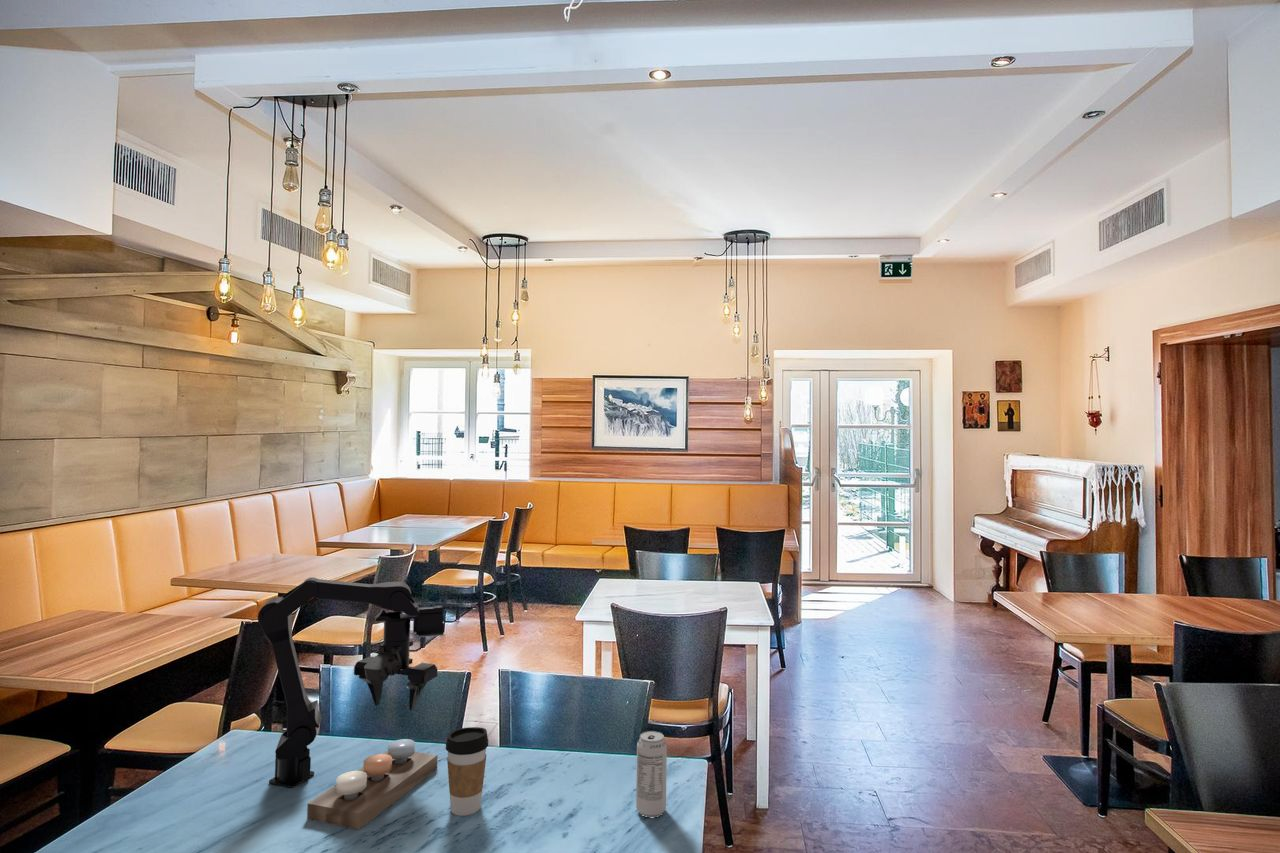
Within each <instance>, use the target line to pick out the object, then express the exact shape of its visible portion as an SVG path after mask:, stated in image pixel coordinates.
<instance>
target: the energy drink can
mask: <svg viewBox="0 0 1280 853" xmlns="http://www.w3.org/2000/svg"><path fill="white" fill-rule="evenodd" d="M667 746H668V744H667V742H666V740H665V735H664V734H663V733H662V732H660V731H654V730H647V731H644V732H642V733H640V735H639V739H638V741H637V744H636V788H635V789H636V791H635V792H636V793H635V796H636V797H635V798H636V800H635V808H636V810H637V811H638V814H639V813H640V814H641V815H644V816H647V817H657V816H660V815H661V814H662V813H663V814H664V813H665V811H666V810H667V768H668V766H667V760H668V759H667V757H668V756H667V755H668V753H667V752H668V751H667V750H668V747H667ZM640 814H639V815H640ZM663 814H662V815H663ZM641 815H640V816H641ZM660 817H661V816H660Z"/></svg>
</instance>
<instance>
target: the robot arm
mask: <svg viewBox="0 0 1280 853" xmlns="http://www.w3.org/2000/svg"><path fill="white" fill-rule="evenodd" d="M312 599H321V600H332V601H333V600H334V601H342V602H343V601H344V602H345V601H346V602H355V603H364V604H369V605H373V606H376V607H379V608H381V610H380V612H378V613H377V614H376V615H375V622H383V641H382V644H380V645H379V647H378V653H377V654H376V655H375V656H367V657H365V658H363V659H360V660H358V661H357V662H356V663H355V665H354V666H353V675H354V676H358V679H359V680H362V681H363V682H365V683H366V684H367V687H368V689H369V691H370V694H371V696H372V700H373V702H374V705H375V706H376V707H377V706H379V705H380V703H381V700H382V694H383V687H384V682H385V681H386V680H387V679H388V678H389V676H392V677H394V676H395V675H402V676H407V680H408V681H409V682H407V683H406V685H407V687H408V688H409V697H408V700H409V702H408V704H409V705H408V706H409V711H412V712H413V710H414V709H415V707H416V705H417V703H418V701H419V699H420V696H421V695H422V692H423V690H424V689H425V687H426V686H427V683H428V682H430V681H432V680H433V679H434V678H437V677H438V670H439V669H438V667H437V665H436V664H435V663H426V662H421V663H419V664H417V665H415V666H410V665H411V664H413V658H410V647H412V646H414V640H410V639H411V620H412V633H413V634H415V635H416V636H417V638H428V637H441V636H443V637H444V632H445V631H444V630H445V622H444V612H443V611H444V607H443V605H435V606H425V607H424V606H423V607H419V605H418V603H417V602H416V601H415V599H414V598H413V597H412V591H411V587H410V586H409V585H408V584H407V583H406V582H404V581H386V582H379V583H363V582H362V583H360V582H349V581H341V580H333V579H332V580H331V579H320V578H316V577H308V578H306V579H304V581H303V582H302V583H301V584H298V585H297V586H296V587H294V588H292V589H291V590H289V591H288V592H286V593H285V594H283V595H282V596H274V597H272V598H270V599H268V600H267V601H266V602H265V603H264V605H263V606H262V607H260V608H261V609H259V612H258V613H257V622H258V624H259V626H260V629H261V630H262V632H263V635H264V636H265V638H266V639H267V640H268V641H269V643H270V645H271V648H272V651H273V654H274V655H273V656H274V659H275V663H276V668H277V672H278V675H279V680H280V684H281V688H282V692H283V696H284V700H285V704H286V730H285V731H284V732H283V733H282V734H281V735H280V737H279V740H278V743H277V746H276V748H275V751H274V753H275V761H274V762H275V763H274V764H275V765H274V777H273V778H271V779H269V781H268V784H271V785H277V786H282V787H288V788H294V787H296V786H298V785H299V784H301V783H303V782H304V781H306V780H307V779H309V778H311V777H313V776H314V775H315V771H312V770H311V763H312V757H311V756H310V754H311V748H308V746H310V745H311V744H312V743H313V742H314V741H315V739H316V738H317V734H318V730H319V729H318V728H320V725H321V722H322V717H323V716H322V714H321V712H320V710H319V701H318V700H314V701H311V700H310V698H308V695H307V692H306V688H305V684H304V680H303V676H302V672H301V667H300V664H299V660H298V655H297V652H296V648H295V644H294V640H293V613H294V612H296V611H298V609H299V608H301V607H302V606H304V605H305V604H306V603H307V602H309V601H310V600H312ZM401 612H403V613H401Z"/></svg>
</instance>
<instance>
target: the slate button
mask: <svg viewBox="0 0 1280 853" xmlns="http://www.w3.org/2000/svg"><path fill="white" fill-rule="evenodd" d="M415 744H416V743H415V740H413V739H410V738H403V739H402V738H401V739H396V740H393V741H391V742H389V744H388V745H387V751H388V755H390V756H391V757H392V759H395V764H398V765H404V764H405V763H407V758H408V757H410V756H412V755H413V754H414V751H416V750H415V748H416V747H415Z"/></svg>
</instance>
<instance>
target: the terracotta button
mask: <svg viewBox="0 0 1280 853" xmlns="http://www.w3.org/2000/svg"><path fill="white" fill-rule="evenodd" d="M362 767H363V772H365V773H366V774H367V775H368V776H371V781H374V782H380V781H382V780H383V779H384V774H386V773H388V772H389V771H390V770H391V769H392V757H391V756H390V755H387V754H383V753H379V754H373V755H371V756H370V755H369V756H368V757H366V758H365V759H364V760H363V766H362Z"/></svg>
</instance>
